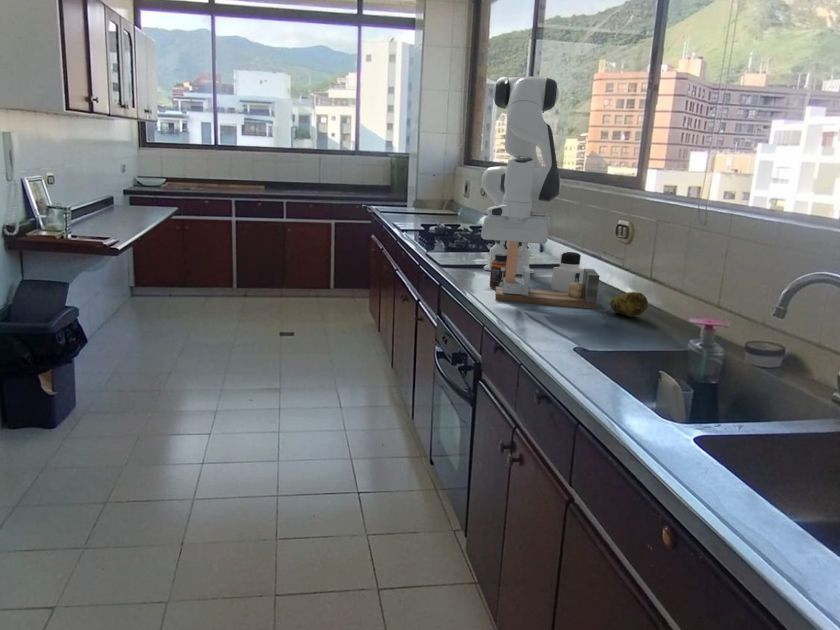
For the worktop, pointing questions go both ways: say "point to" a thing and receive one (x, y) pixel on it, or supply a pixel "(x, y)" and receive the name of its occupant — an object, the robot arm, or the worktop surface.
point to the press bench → (558, 294)
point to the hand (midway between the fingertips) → (512, 256)
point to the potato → (629, 304)
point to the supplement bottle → (498, 271)
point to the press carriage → (510, 282)
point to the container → (567, 272)
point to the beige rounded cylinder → (576, 290)
